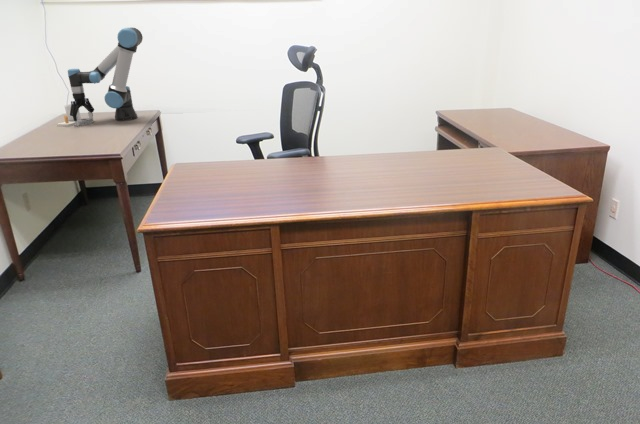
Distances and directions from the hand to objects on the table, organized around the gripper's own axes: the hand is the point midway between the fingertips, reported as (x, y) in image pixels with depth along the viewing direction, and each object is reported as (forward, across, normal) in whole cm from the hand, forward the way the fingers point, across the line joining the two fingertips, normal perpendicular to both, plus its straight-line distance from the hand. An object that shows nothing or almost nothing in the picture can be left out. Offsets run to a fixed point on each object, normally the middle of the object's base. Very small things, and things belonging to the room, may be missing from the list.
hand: (84, 123), depth 324 cm
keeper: (0, +6, -9) cm, 11 cm away
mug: (0, -10, -18) cm, 20 cm away
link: (0, 0, 0) cm, 0 cm away
